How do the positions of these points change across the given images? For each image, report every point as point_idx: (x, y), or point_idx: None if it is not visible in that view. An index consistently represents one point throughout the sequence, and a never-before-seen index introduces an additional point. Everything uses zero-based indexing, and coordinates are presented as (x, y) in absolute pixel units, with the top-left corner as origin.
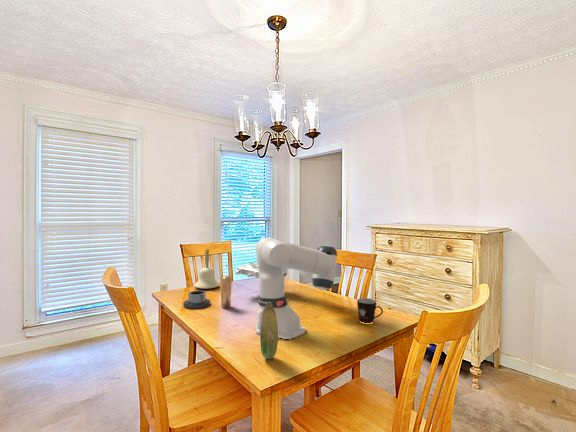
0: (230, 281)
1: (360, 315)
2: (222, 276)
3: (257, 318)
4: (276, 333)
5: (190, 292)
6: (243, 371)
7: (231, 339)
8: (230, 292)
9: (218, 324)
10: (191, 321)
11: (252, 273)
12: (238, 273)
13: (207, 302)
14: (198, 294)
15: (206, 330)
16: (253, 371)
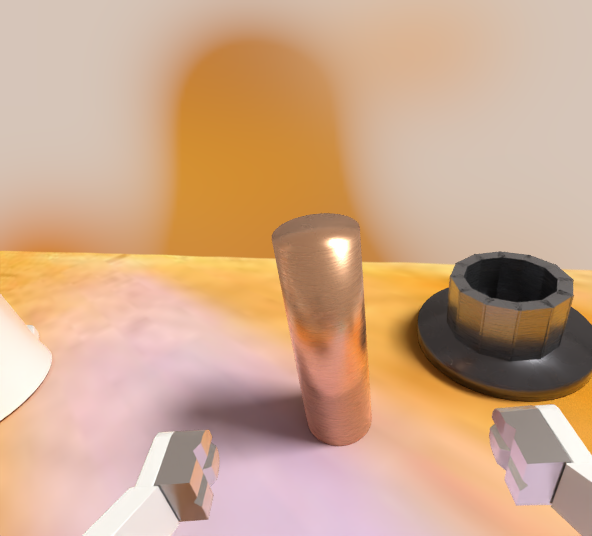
0: (280, 277)
1: None
2: (354, 222)
3: (17, 317)
4: None
5: (537, 262)
6: (33, 252)
7: (106, 282)
8: (294, 351)
9: (203, 300)
10: None
11: (120, 500)
12: (508, 463)
13: (455, 354)
14: (461, 272)
15: (207, 270)
16: (13, 259)
